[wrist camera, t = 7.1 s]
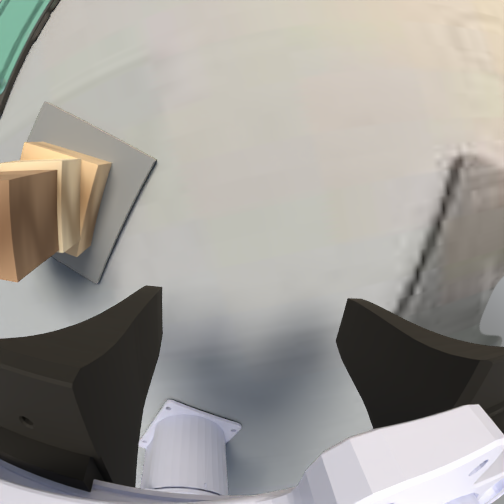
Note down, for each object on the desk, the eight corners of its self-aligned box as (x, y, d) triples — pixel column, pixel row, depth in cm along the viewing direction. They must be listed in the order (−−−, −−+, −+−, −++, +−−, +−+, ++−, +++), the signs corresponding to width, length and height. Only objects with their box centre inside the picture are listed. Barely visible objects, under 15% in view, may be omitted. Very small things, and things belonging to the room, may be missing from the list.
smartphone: (-48, 104, 13) (29, -43, 10) (-40, 104, 15) (35, -38, 11) (-6, 121, 15) (85, -44, 11) (3, 121, 16) (90, -37, 13)
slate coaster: (99, 280, 21) (96, 284, 20) (5, 220, 18) (1, 222, 18) (157, 159, 19) (155, 159, 18) (48, 102, 16) (44, 101, 16)
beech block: (80, 239, 17) (63, 252, 14) (21, 235, 16) (0, 246, 14) (81, 158, 15) (62, 160, 13) (19, 160, 15) (-3, 163, 12)
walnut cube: (59, 250, 14) (17, 282, 10) (4, 244, 14) (-40, 271, 10) (57, 169, 13) (9, 180, 9) (0, 171, 12) (-49, 182, 8)
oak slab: (90, 245, 19) (76, 257, 17) (26, 220, 18) (9, 228, 16) (112, 163, 18) (98, 165, 16) (43, 141, 17) (24, 142, 14)
